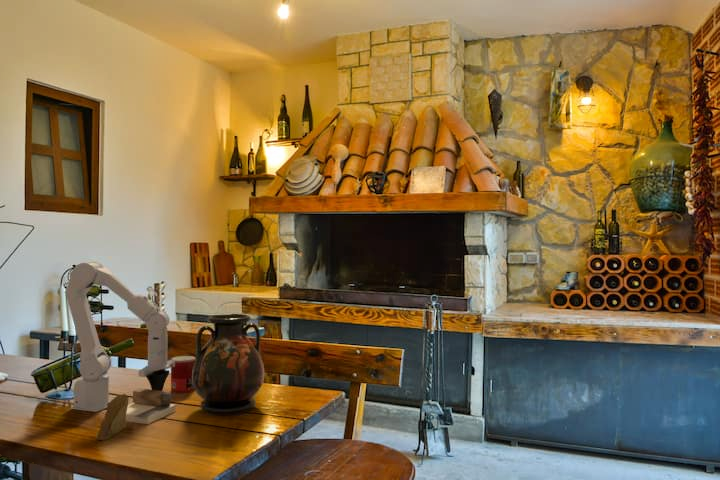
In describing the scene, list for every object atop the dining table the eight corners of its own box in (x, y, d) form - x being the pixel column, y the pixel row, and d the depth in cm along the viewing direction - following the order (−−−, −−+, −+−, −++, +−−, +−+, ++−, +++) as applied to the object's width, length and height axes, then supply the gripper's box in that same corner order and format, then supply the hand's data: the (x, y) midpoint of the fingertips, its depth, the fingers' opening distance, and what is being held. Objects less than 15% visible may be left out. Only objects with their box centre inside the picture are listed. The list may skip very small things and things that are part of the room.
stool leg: (172, 403, 161) (172, 392, 161) (166, 406, 158) (166, 394, 158) (139, 399, 165) (139, 388, 165) (132, 402, 162) (132, 390, 162)
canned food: (191, 393, 180) (191, 360, 180) (167, 393, 180) (167, 360, 181) (198, 387, 188) (198, 355, 188) (175, 387, 188) (175, 355, 188)
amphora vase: (196, 423, 151) (197, 323, 151) (187, 402, 170) (188, 313, 171) (272, 414, 160) (273, 319, 160) (255, 395, 179) (255, 310, 179)
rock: (107, 435, 135) (141, 419, 143) (91, 405, 137) (126, 391, 145) (89, 453, 140) (123, 436, 148) (74, 424, 142) (108, 409, 150)
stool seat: (108, 419, 153) (108, 412, 154) (139, 406, 166) (139, 400, 166) (146, 424, 149) (146, 417, 149) (175, 411, 162) (175, 404, 162)
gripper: (152, 356, 159) (152, 402, 159) (183, 347, 173) (182, 390, 173) (132, 354, 161) (132, 400, 161) (164, 346, 175) (164, 388, 175)
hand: (157, 395), depth 167 cm, fingers closed
